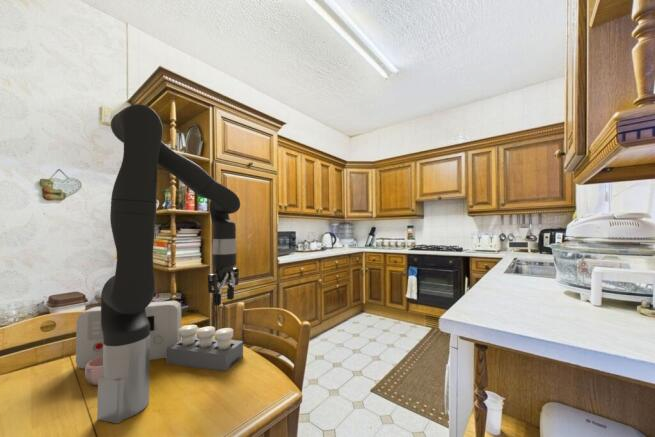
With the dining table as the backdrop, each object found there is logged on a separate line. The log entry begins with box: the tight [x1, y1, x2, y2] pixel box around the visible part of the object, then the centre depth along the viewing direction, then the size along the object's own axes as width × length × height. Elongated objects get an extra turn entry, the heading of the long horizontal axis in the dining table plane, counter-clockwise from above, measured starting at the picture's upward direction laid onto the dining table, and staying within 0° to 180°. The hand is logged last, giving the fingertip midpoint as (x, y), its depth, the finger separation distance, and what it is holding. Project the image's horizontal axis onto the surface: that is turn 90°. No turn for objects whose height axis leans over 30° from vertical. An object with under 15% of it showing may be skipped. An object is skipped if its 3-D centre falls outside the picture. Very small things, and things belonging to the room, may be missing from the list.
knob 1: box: [179, 324, 198, 346], centre depth 90 cm, size 6×6×6 cm
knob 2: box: [196, 326, 216, 348], centre depth 88 cm, size 6×6×6 cm
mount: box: [165, 335, 244, 372], centre depth 88 cm, size 10×22×5 cm, turn 77°
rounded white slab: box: [75, 300, 182, 369], centre depth 88 cm, size 29×8×18 cm, turn 107°
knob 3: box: [214, 327, 234, 351], centre depth 87 cm, size 6×6×6 cm
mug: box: [84, 355, 103, 386], centre depth 78 cm, size 12×10×6 cm
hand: (224, 301), depth 87 cm, fingers open, 6 cm apart
